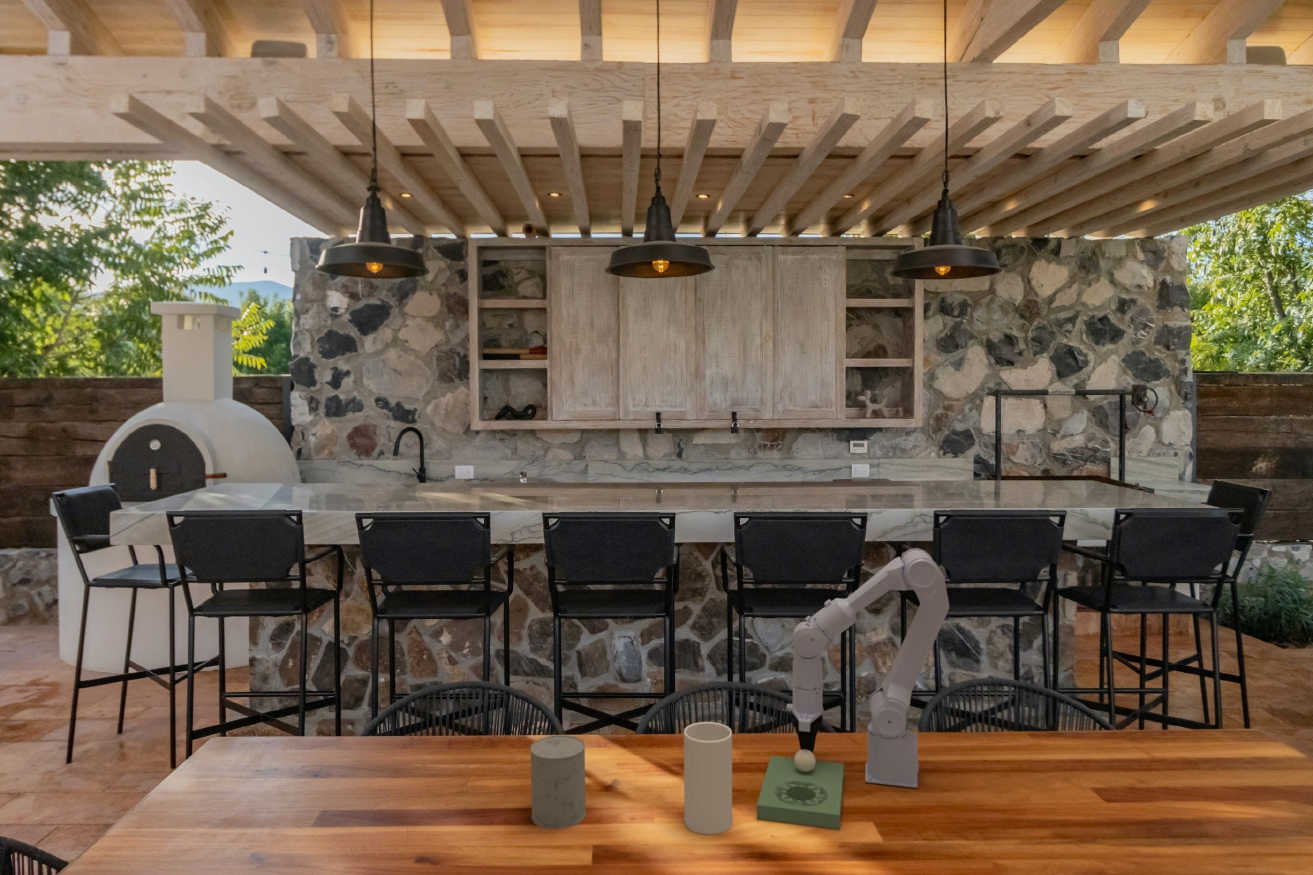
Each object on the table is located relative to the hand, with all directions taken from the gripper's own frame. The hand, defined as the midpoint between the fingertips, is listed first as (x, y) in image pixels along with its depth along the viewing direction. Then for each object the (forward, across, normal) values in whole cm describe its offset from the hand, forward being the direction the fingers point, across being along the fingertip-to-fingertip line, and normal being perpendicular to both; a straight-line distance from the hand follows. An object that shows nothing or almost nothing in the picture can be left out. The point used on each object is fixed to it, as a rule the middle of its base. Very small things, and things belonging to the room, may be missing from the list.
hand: (807, 752), depth 161 cm
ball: (-1, +6, 0) cm, 6 cm away
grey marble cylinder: (+4, +28, -41) cm, 50 cm away
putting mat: (+3, +11, 0) cm, 11 cm away
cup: (+4, +24, -15) cm, 28 cm away
